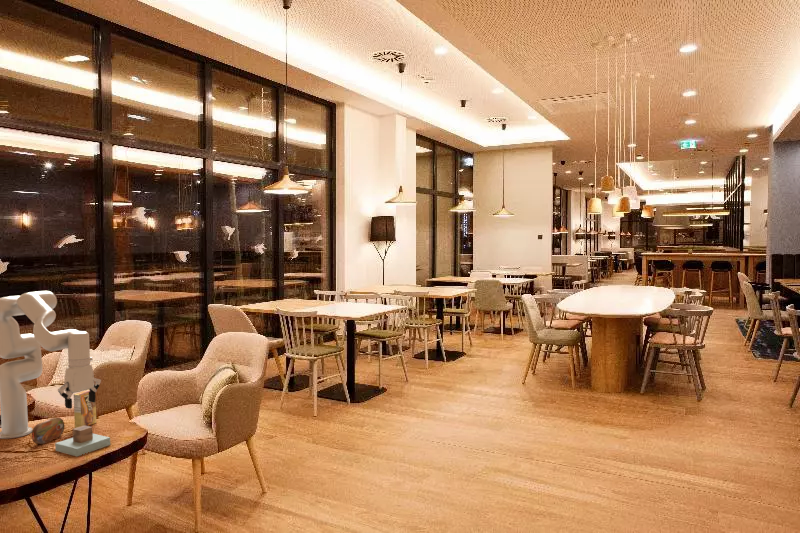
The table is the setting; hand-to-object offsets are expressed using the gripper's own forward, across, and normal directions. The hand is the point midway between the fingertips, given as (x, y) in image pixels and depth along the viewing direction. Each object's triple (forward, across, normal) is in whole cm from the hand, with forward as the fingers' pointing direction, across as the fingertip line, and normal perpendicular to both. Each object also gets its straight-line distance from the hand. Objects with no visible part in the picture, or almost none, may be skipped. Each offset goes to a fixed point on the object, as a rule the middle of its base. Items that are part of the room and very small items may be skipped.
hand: (80, 404), depth 232 cm
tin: (+18, +1, -21) cm, 28 cm away
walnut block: (+14, 0, +1) cm, 14 cm away
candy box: (+18, -18, -25) cm, 36 cm away
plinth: (+17, 0, +1) cm, 17 cm away
